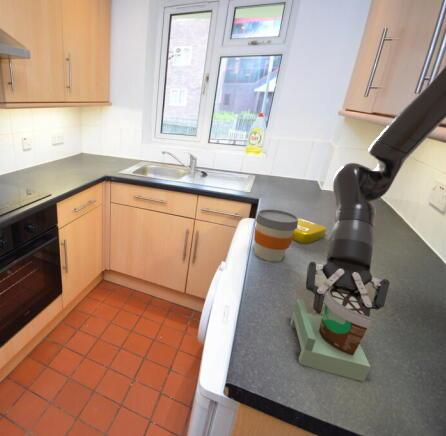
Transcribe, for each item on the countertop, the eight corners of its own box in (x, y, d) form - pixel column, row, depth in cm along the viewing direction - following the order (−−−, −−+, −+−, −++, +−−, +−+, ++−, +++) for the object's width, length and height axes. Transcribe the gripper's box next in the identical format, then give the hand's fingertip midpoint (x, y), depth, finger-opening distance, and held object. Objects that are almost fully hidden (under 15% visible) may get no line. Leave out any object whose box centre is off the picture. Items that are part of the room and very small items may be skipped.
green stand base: (343, 335, 68) (352, 311, 66) (363, 382, 57) (376, 354, 54) (290, 323, 72) (297, 299, 69) (299, 364, 61) (308, 337, 58)
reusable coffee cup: (293, 266, 97) (305, 224, 92) (253, 262, 99) (262, 220, 94) (281, 248, 109) (291, 210, 103) (245, 245, 111) (253, 207, 105)
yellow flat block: (325, 237, 119) (328, 226, 118) (305, 245, 112) (308, 233, 110) (289, 224, 131) (292, 214, 129) (268, 230, 124) (271, 220, 122)
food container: (308, 313, 69) (320, 276, 66) (339, 320, 67) (353, 283, 63) (318, 350, 59) (333, 310, 55) (355, 361, 57) (373, 319, 53)
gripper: (315, 230, 65) (301, 303, 60) (400, 247, 58) (392, 331, 53) (309, 243, 71) (295, 310, 66) (385, 259, 64) (376, 335, 59)
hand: (338, 319), depth 60 cm, fingers closed on food container, 6 cm apart
